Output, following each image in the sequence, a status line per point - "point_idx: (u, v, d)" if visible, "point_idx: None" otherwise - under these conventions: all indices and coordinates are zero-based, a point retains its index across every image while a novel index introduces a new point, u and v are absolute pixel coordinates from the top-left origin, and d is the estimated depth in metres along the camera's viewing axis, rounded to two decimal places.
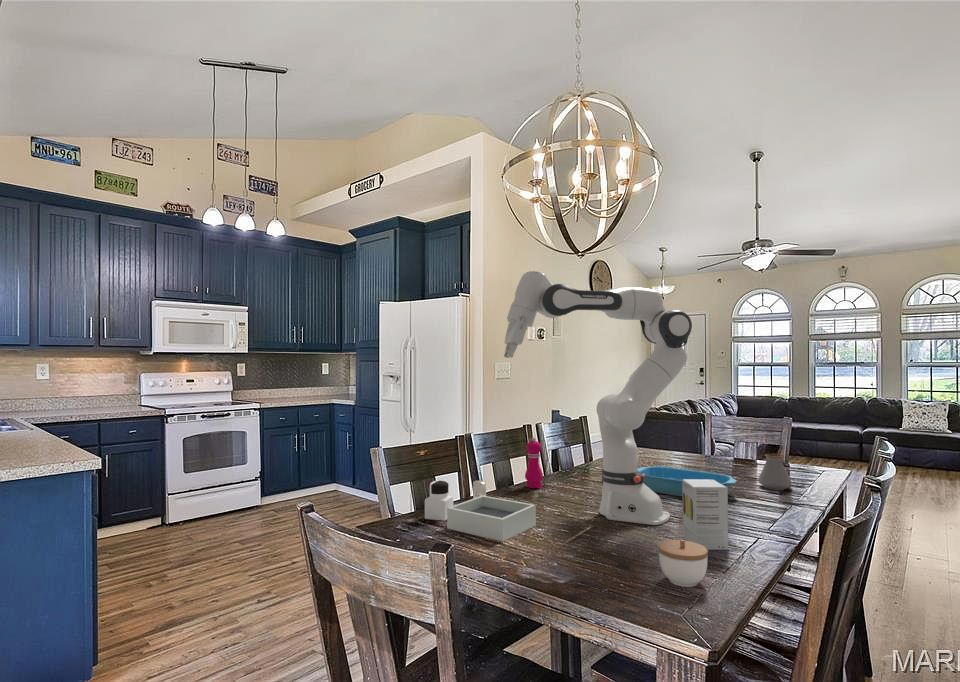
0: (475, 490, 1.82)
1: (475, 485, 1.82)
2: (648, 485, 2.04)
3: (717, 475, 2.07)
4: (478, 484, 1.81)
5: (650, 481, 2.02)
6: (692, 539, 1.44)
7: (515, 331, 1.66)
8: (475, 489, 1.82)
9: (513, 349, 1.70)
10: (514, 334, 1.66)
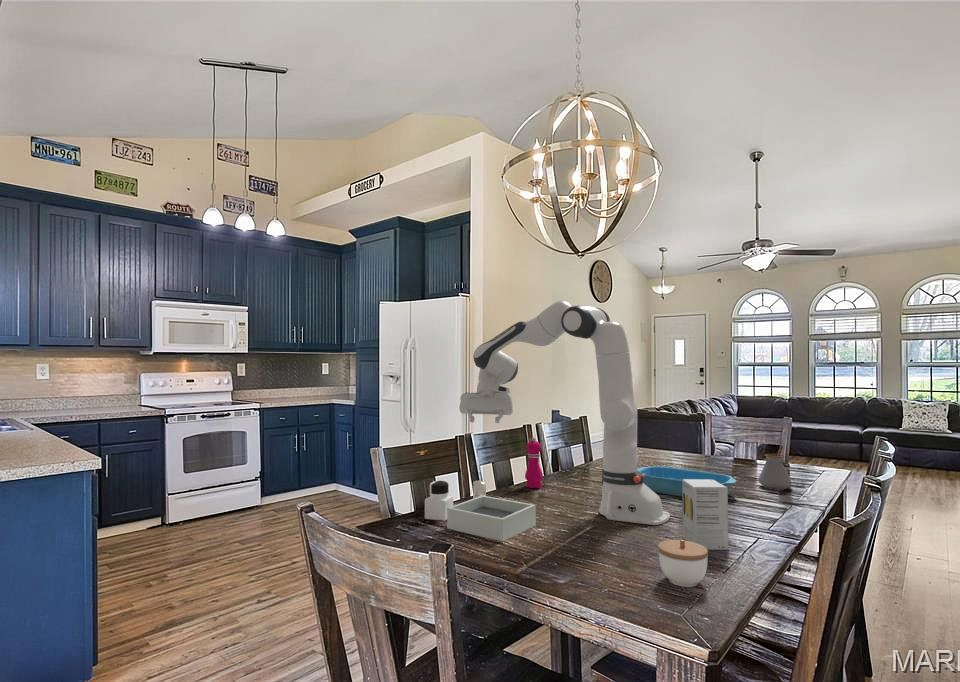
0: (475, 490, 1.82)
1: (475, 485, 1.82)
2: (648, 485, 2.04)
3: (717, 475, 2.07)
4: (478, 484, 1.81)
5: (650, 481, 2.02)
6: (692, 539, 1.44)
7: None
8: (475, 489, 1.82)
9: (469, 415, 1.99)
10: None
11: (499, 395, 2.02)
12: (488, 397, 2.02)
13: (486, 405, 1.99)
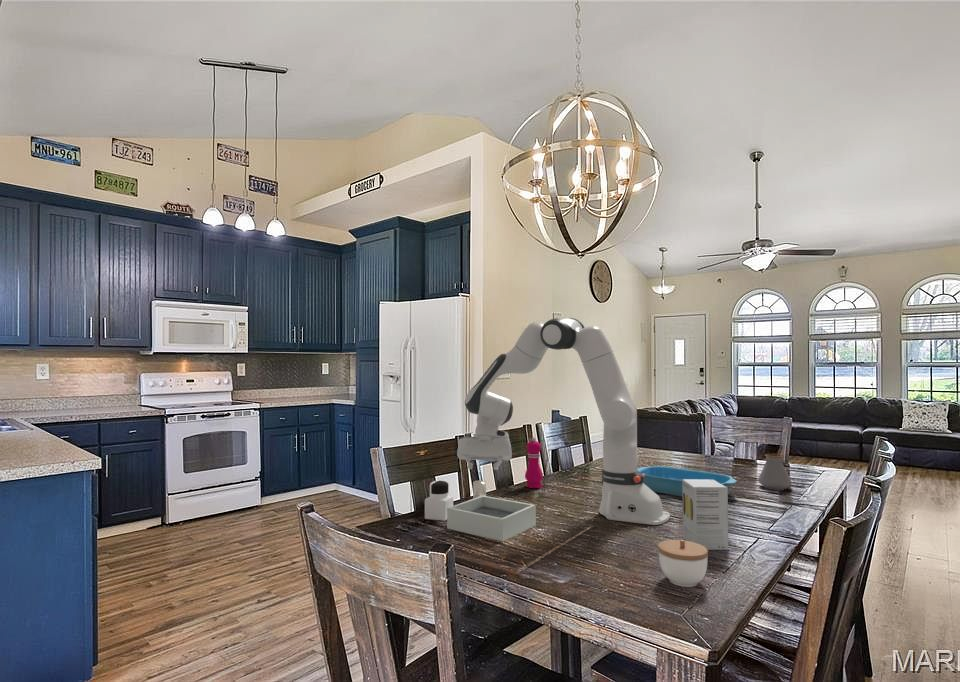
0: (475, 490, 1.82)
1: (475, 485, 1.82)
2: (648, 485, 2.04)
3: (717, 475, 2.07)
4: (478, 484, 1.81)
5: (650, 481, 2.03)
6: (692, 539, 1.44)
7: None
8: (475, 489, 1.82)
9: (467, 461, 1.94)
10: None
11: (497, 440, 1.97)
12: (486, 442, 1.98)
13: (484, 451, 1.95)
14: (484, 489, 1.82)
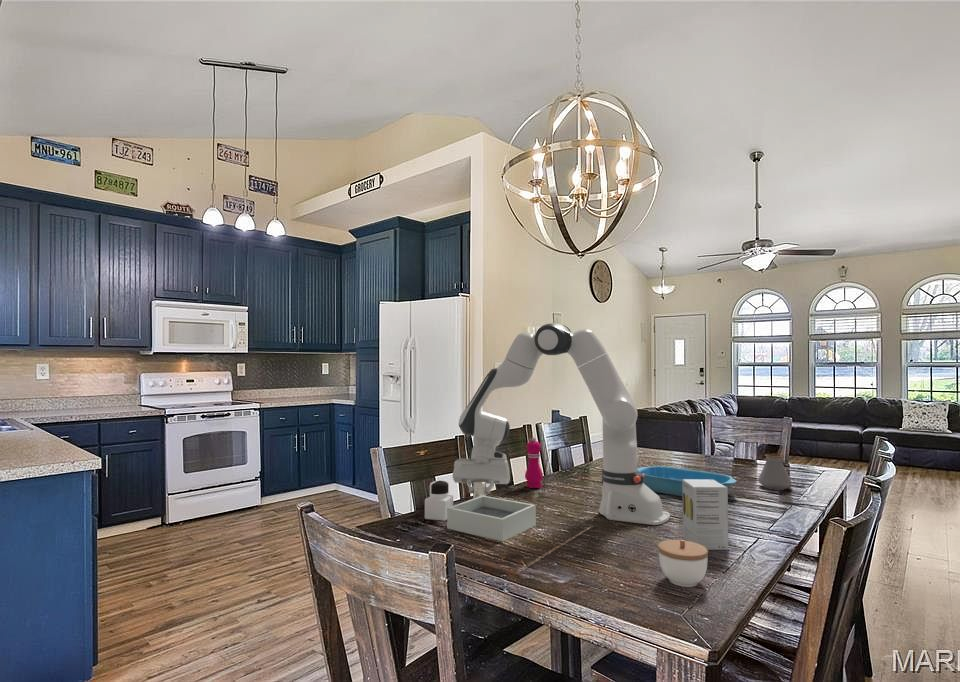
0: (475, 490, 1.82)
1: (475, 485, 1.82)
2: (648, 485, 2.04)
3: (718, 475, 2.07)
4: (478, 484, 1.81)
5: (650, 481, 2.03)
6: (692, 539, 1.44)
7: None
8: (475, 489, 1.82)
9: (468, 485, 1.85)
10: None
11: (495, 462, 1.88)
12: (483, 464, 1.89)
13: (481, 474, 1.86)
14: (484, 489, 1.82)
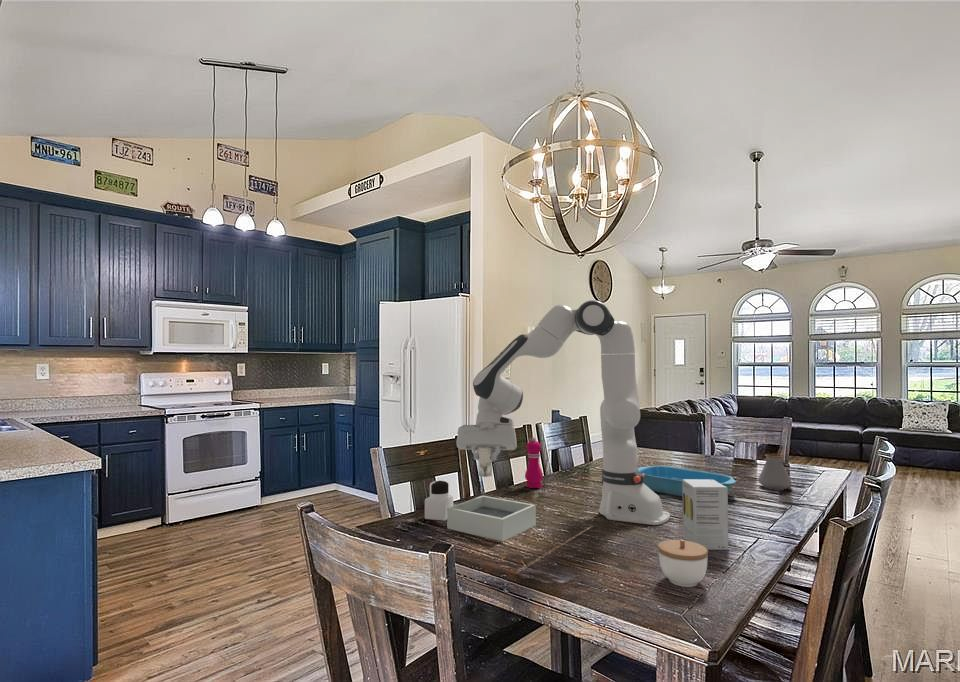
0: (480, 456, 1.72)
1: (480, 451, 1.72)
2: (647, 484, 2.05)
3: (719, 476, 2.06)
4: (483, 449, 1.71)
5: (648, 480, 2.04)
6: (692, 539, 1.44)
7: None
8: (480, 455, 1.72)
9: (472, 451, 1.75)
10: None
11: (501, 427, 1.78)
12: (488, 430, 1.79)
13: (486, 440, 1.76)
14: (490, 455, 1.72)
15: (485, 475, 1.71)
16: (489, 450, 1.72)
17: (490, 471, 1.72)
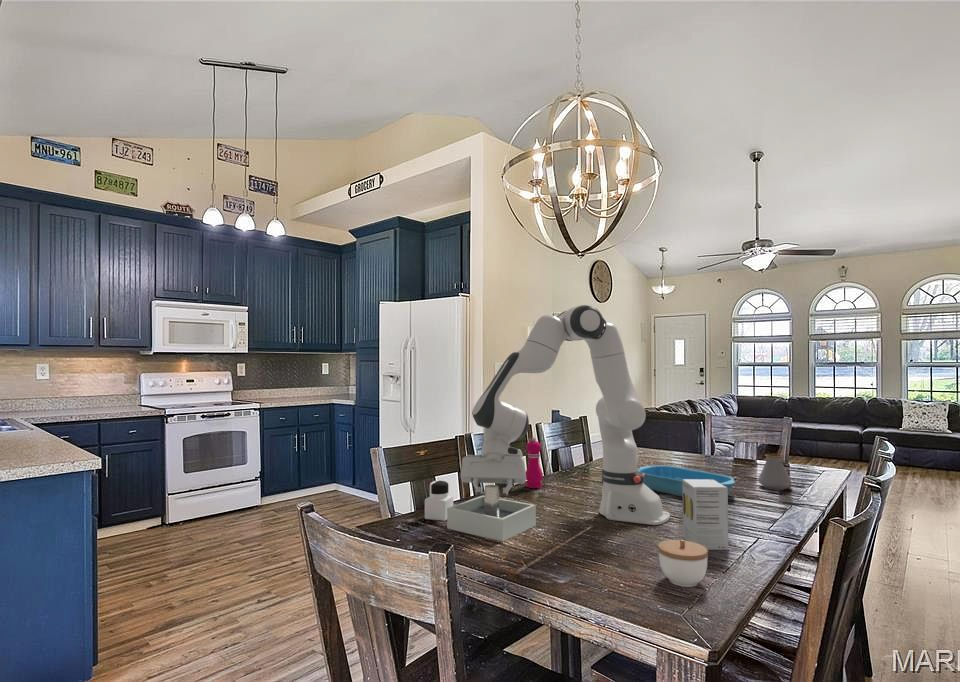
0: (487, 496, 1.58)
1: (487, 490, 1.58)
2: (646, 483, 2.07)
3: (721, 476, 2.05)
4: (490, 489, 1.58)
5: (647, 479, 2.06)
6: (692, 539, 1.44)
7: None
8: (487, 495, 1.58)
9: (474, 485, 1.62)
10: None
11: (509, 459, 1.65)
12: (495, 461, 1.65)
13: (493, 473, 1.62)
14: (497, 495, 1.58)
15: None
16: (497, 490, 1.58)
17: (498, 512, 1.58)
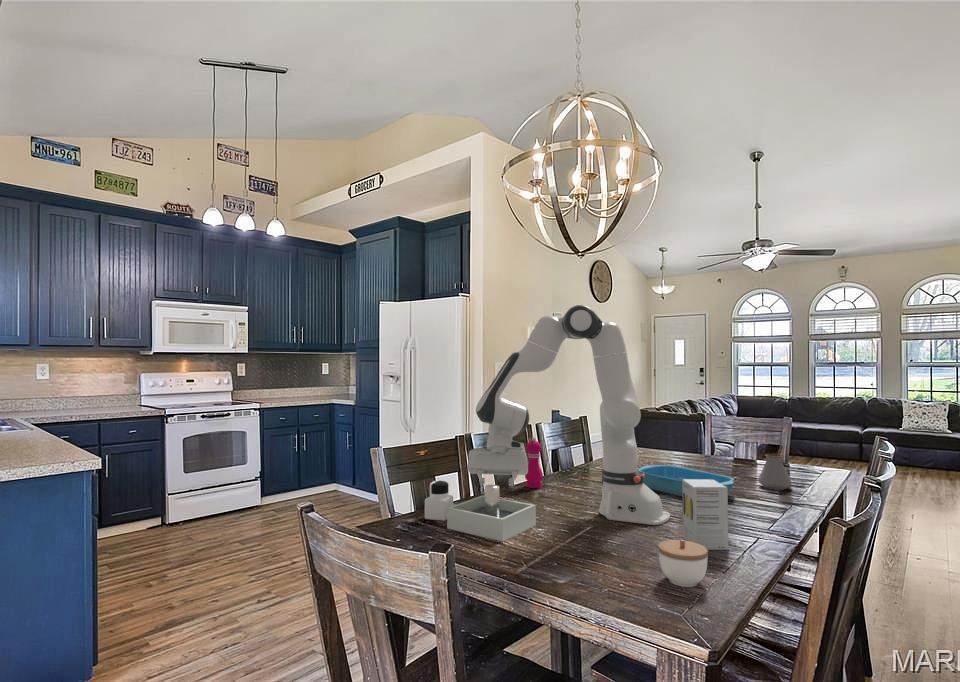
0: (487, 496, 1.58)
1: (487, 490, 1.58)
2: (646, 482, 2.09)
3: (723, 477, 2.03)
4: (490, 489, 1.58)
5: (647, 478, 2.08)
6: (692, 539, 1.44)
7: None
8: (487, 495, 1.58)
9: (478, 476, 1.74)
10: None
11: (512, 452, 1.77)
12: (500, 454, 1.78)
13: (498, 465, 1.75)
14: (497, 495, 1.58)
15: None
16: (497, 490, 1.58)
17: (498, 512, 1.58)
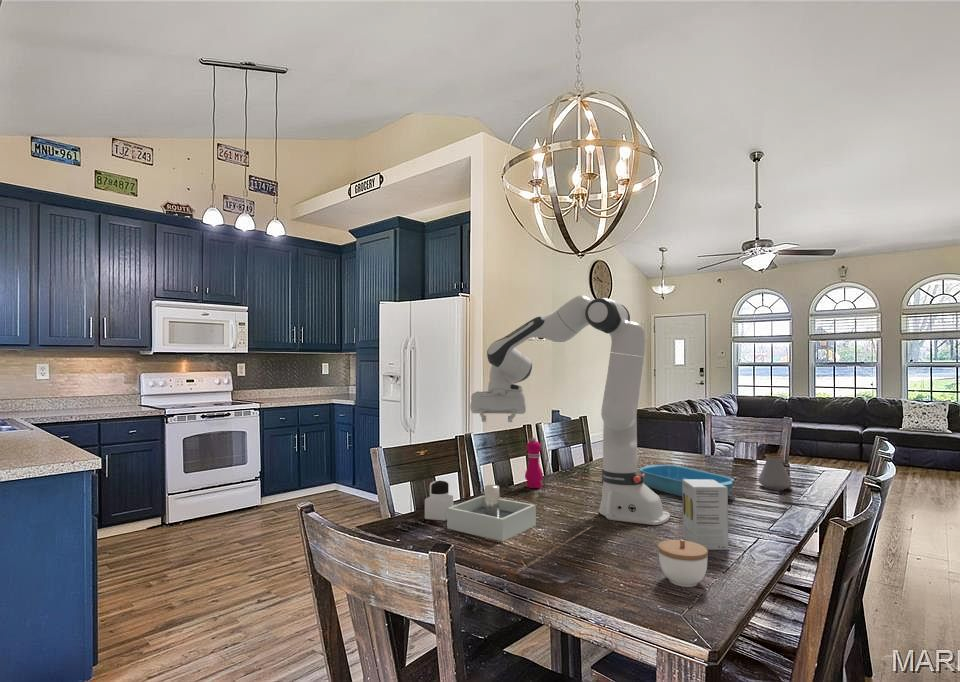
0: (487, 496, 1.58)
1: (487, 490, 1.58)
2: (646, 481, 2.10)
3: (724, 478, 2.02)
4: (490, 489, 1.58)
5: (647, 477, 2.09)
6: (692, 539, 1.44)
7: None
8: (487, 495, 1.58)
9: (480, 414, 1.92)
10: None
11: (511, 393, 1.94)
12: (500, 396, 1.95)
13: (498, 404, 1.92)
14: (497, 495, 1.58)
15: None
16: (497, 490, 1.58)
17: (498, 512, 1.58)
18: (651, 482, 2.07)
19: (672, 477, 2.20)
